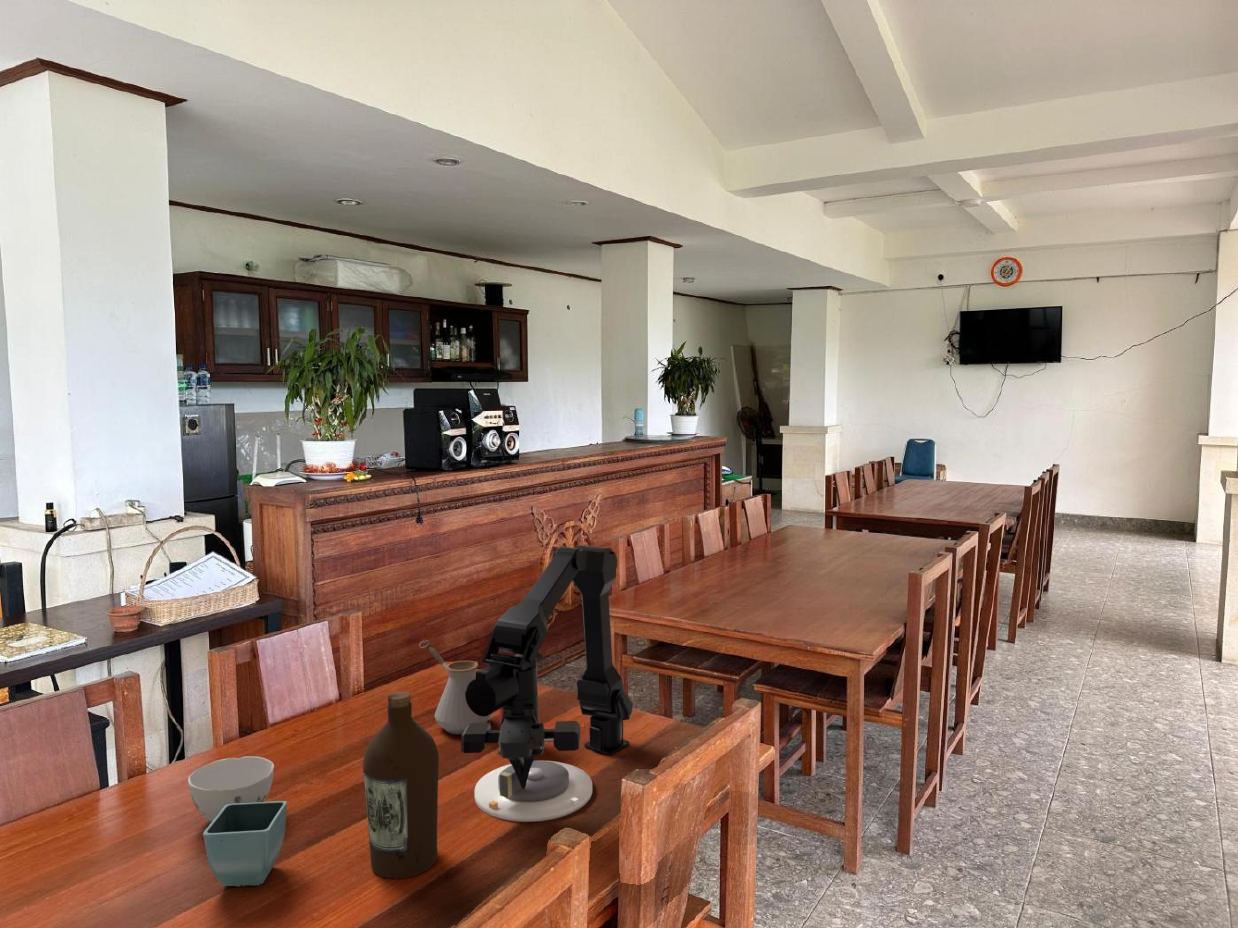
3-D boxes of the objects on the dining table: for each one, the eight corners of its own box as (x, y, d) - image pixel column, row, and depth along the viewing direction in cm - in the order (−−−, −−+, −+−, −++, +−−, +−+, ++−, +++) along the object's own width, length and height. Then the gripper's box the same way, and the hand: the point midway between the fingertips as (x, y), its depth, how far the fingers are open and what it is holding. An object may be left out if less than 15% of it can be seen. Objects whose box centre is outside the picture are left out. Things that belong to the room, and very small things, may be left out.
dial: (525, 763, 153) (525, 736, 152) (582, 777, 147) (581, 749, 146) (475, 796, 140) (474, 767, 140) (534, 814, 134) (534, 783, 134)
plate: (533, 756, 159) (533, 746, 158) (616, 786, 146) (616, 776, 146) (449, 796, 143) (449, 786, 143) (534, 834, 131) (534, 823, 130)
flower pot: (228, 861, 124) (225, 802, 123) (290, 858, 125) (288, 799, 124) (204, 897, 115) (201, 834, 114) (271, 893, 116) (268, 830, 115)
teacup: (286, 821, 135) (284, 773, 135) (201, 848, 127) (198, 797, 127) (258, 787, 147) (255, 742, 146) (178, 810, 139) (176, 763, 138)
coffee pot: (503, 727, 172) (501, 655, 171) (454, 743, 165) (452, 668, 163) (447, 699, 188) (445, 633, 187) (400, 713, 180) (398, 644, 179)
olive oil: (396, 836, 130) (391, 678, 128) (455, 849, 127) (451, 687, 124) (350, 873, 121) (344, 703, 118) (413, 888, 117) (408, 713, 115)
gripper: (451, 714, 128) (456, 813, 130) (574, 711, 128) (578, 810, 129) (465, 688, 139) (470, 779, 141) (579, 685, 139) (582, 777, 140)
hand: (523, 787), depth 137 cm, fingers closed
